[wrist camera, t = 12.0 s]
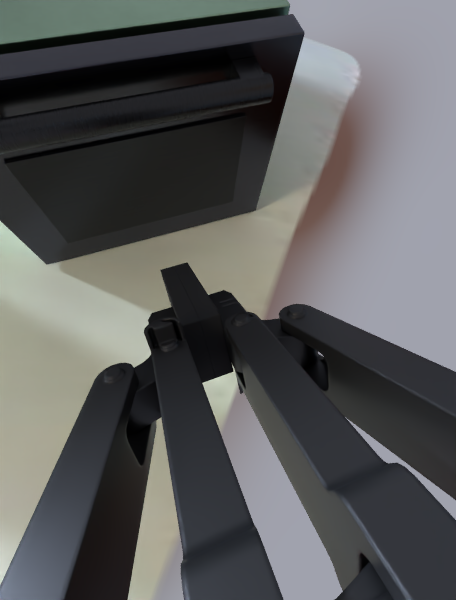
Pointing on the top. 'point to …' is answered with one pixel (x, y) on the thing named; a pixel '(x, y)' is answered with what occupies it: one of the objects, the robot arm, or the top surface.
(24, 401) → the top surface
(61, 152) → the oven door
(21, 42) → the oven
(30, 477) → the top surface
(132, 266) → the top surface
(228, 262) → the top surface
